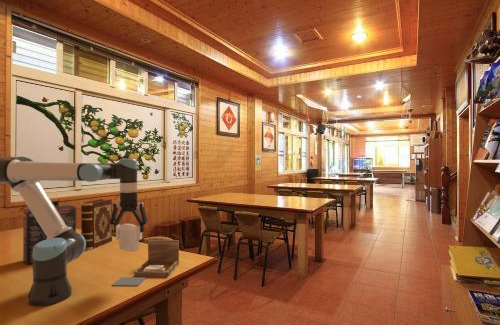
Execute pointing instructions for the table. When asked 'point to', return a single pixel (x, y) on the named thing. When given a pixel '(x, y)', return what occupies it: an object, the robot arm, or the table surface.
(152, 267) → the offcut stack
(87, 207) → the decorative book
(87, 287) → the table surface
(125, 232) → the photo printer
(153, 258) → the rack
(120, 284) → the mat
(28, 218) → the headset box
